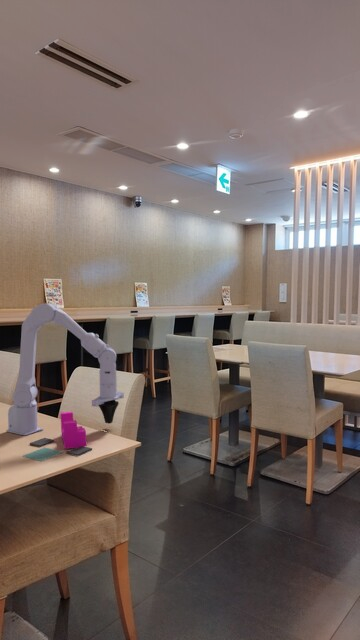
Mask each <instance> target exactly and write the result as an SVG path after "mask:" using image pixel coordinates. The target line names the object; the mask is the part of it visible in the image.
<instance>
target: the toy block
mask: <svg viewBox="0 0 360 640" xmlns="http://www.w3.org/2000/svg"><path fill="white" fill-rule="evenodd" d="M60 429H61V430H60V432H61V439H62V442H63V445H64V449H65V450H66V449H67V450H68V449H74V448H77V447H83V446H84V447H87V431H86V429H85V427H83V425H80V426H78V421H77V420H76V419H74V413H73V411H64V412H60Z"/></svg>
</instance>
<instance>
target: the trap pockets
mask: <svg viewBox="0 0 360 640" xmlns="http://www.w3.org/2000/svg"><path fill="white" fill-rule="evenodd" d="M55 440H56V439H51V438H47V437H43V438H39V439H38V440H35V441H32V442H29V445H30V446H34V447H37V448H38V447H39V448H41V447H44V446H47V445H49V444H51V443H55ZM92 450H93V448H92V447H87V446H83V447H76V448H71V449H69V450H67V451H66V455H67V454H68V455H73V456H75V457H79V456H81V455H83V454H86V453H88V452H91V451H92Z"/></svg>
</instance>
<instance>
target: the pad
mask: <svg viewBox="0 0 360 640" xmlns="http://www.w3.org/2000/svg"><path fill="white" fill-rule="evenodd" d="M63 453H64V451H61V450H58V449H57V450H56V449H53V448H48V447H44V446H43V447H42V448H39V449H36V450H34V451H31V452H28V453H26V454H23V455H22V457H23V458H28V459H31V460H35V461H39V462H43V461H45V460H48V459H51V458H53V457H55V456H58V455H61V454H63Z"/></svg>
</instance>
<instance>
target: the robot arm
mask: <svg viewBox="0 0 360 640" xmlns="http://www.w3.org/2000/svg"><path fill="white" fill-rule="evenodd" d="M51 322H52V324H55V325H60V326H63V327H64V328H65V329H67V330H68V331H69V332H70V333H72V334H73V335H74V336H75V337H76V338H78V339H79V340H80V344H81V347H83V348H84V349H85V350H86V351H87V352H88V353H89V354H90V355H92V356H93V357H94V358H97V360H98V363H99V372H98V373H99V396H98V397H96V398H94V399H91V407H98V408H100V411H101V413H102V415H103V419H104V422H105V424H112V423H113V422H114V421H113V420H114V415H115V412H116V410H117V408H118V406H119V401H117V400H120V399H124V397H125V395H124V393H125V392H122V391H117V390H118V389H117V387H118V385H117V384H118V383H117V380H118V379H117V363H116V361H117V352H116V351H115V350H114V348H112V347H110V345H109V343H107V344H106V343H105V342H104V341H103V340H102V339H100V338H99V337H100V336H99V334H98V333H94V332H87V331H86V330H85V329H83V327H81V325H79V323H77V322H76V321H75V320H74V319H73V318H72V317H71V316H70V315H69V314H68V313H66V312H65V311H64V310H62V309H61V308H60V307H57V305H55V304H54V303H51V302H47V303H46V302H45V303H41V304H39V305H37V306H35V307H34V308H32V309H31V311H30V312H29V314H28V316H27V317H25V319H24V321H23V322H22V324H21V338H20V348H19V349H20V353H19V371H18V379H17V381H16V388H15V391H14V392H13V394H12V400H13V401H12V402H13V403H14V404H12V405H10V407H9V409H8V411H7V419H8V421H7V423H8V428H7V429H6V430H5V431H6V432H8V433H12V434H17V435H21V436H28V435H31V434H35V433H36V432H40V431H44V427H39V426H38V402H37V400H36V398H37V396H38V393H39V392H38V391H39V390H38V388H37V386H36V377H35V375H36V374H35V372H36V371H35V370H36V355H37V354H36V353H37V339H38V337H37V336H38V331H39V329H41V328H42V327H43V326H44V325H46V324H47V323H51Z"/></svg>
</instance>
